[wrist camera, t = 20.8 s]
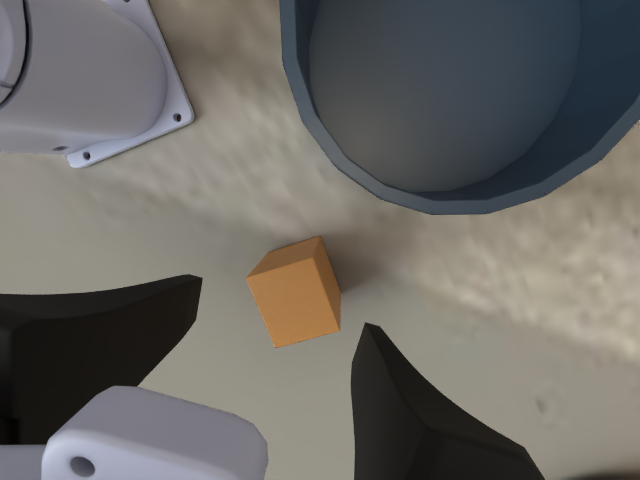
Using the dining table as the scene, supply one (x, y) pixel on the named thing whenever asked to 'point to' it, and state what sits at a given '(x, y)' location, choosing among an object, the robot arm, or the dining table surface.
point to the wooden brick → (297, 292)
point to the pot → (463, 93)
